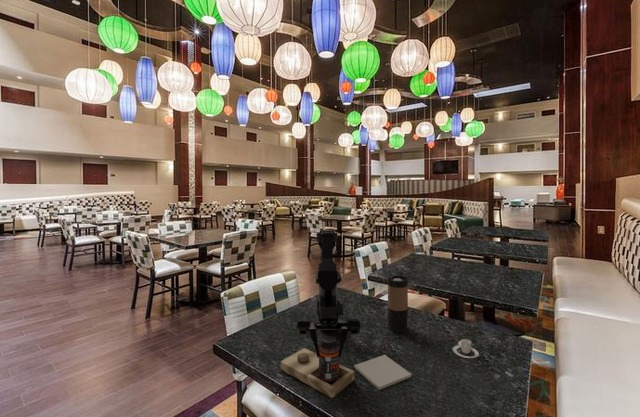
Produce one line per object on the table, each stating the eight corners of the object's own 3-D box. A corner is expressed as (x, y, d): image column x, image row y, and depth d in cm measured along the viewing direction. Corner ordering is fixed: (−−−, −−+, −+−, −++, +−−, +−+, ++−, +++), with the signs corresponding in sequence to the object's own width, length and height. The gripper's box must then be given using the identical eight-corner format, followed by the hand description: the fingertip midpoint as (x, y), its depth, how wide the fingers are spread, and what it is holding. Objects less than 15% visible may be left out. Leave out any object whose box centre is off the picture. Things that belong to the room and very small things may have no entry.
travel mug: (408, 333, 116) (408, 282, 115) (387, 332, 118) (387, 281, 116) (406, 324, 124) (407, 276, 122) (387, 323, 125) (387, 275, 124)
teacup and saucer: (459, 343, 109) (459, 332, 109) (483, 351, 104) (483, 340, 103) (448, 353, 103) (448, 341, 103) (473, 362, 98) (473, 350, 97)
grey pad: (354, 367, 95) (354, 365, 95) (384, 357, 101) (384, 354, 101) (379, 390, 85) (379, 387, 85) (411, 376, 90) (411, 374, 90)
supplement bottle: (333, 385, 85) (332, 346, 84) (315, 378, 88) (314, 340, 87) (343, 374, 90) (342, 337, 89) (325, 368, 93) (325, 332, 92)
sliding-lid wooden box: (354, 379, 89) (354, 367, 89) (332, 398, 82) (331, 385, 81) (304, 355, 103) (303, 344, 103) (280, 369, 95) (280, 357, 95)
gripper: (296, 293, 91) (293, 349, 81) (359, 292, 91) (364, 348, 81) (299, 308, 100) (297, 360, 90) (357, 307, 99) (361, 360, 89)
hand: (329, 357), depth 87 cm, fingers closed on supplement bottle, 6 cm apart
